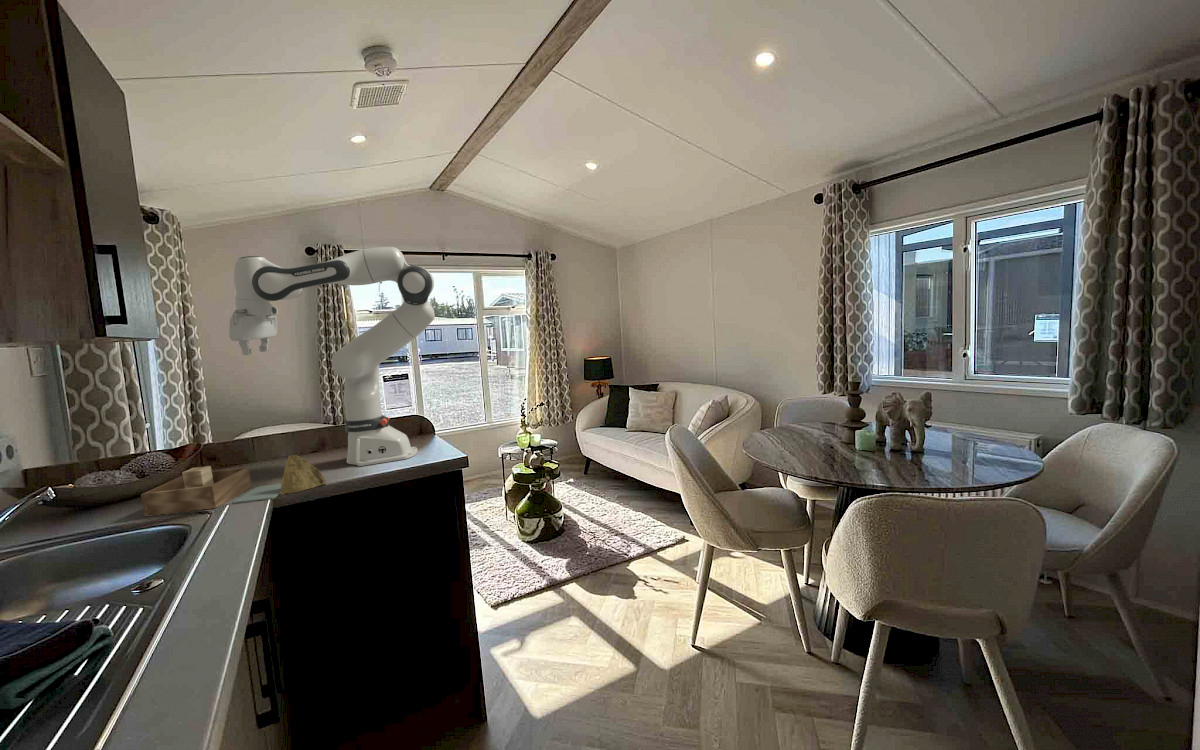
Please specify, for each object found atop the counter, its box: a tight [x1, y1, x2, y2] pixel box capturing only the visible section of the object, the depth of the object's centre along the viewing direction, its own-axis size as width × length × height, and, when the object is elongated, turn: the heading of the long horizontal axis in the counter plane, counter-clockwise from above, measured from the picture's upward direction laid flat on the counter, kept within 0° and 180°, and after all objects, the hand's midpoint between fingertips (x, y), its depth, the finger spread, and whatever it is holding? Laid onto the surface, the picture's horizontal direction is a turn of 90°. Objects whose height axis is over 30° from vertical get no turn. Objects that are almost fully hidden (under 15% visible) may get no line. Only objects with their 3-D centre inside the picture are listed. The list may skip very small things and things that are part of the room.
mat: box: [231, 483, 281, 505], centre depth 140 cm, size 10×13×1 cm
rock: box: [279, 454, 327, 496], centre depth 141 cm, size 11×9×10 cm
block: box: [181, 465, 214, 488], centre depth 137 cm, size 4×4×7 cm
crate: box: [140, 466, 253, 517], centre depth 138 cm, size 17×18×6 cm
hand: (255, 353), depth 158 cm, fingers open, 8 cm apart
